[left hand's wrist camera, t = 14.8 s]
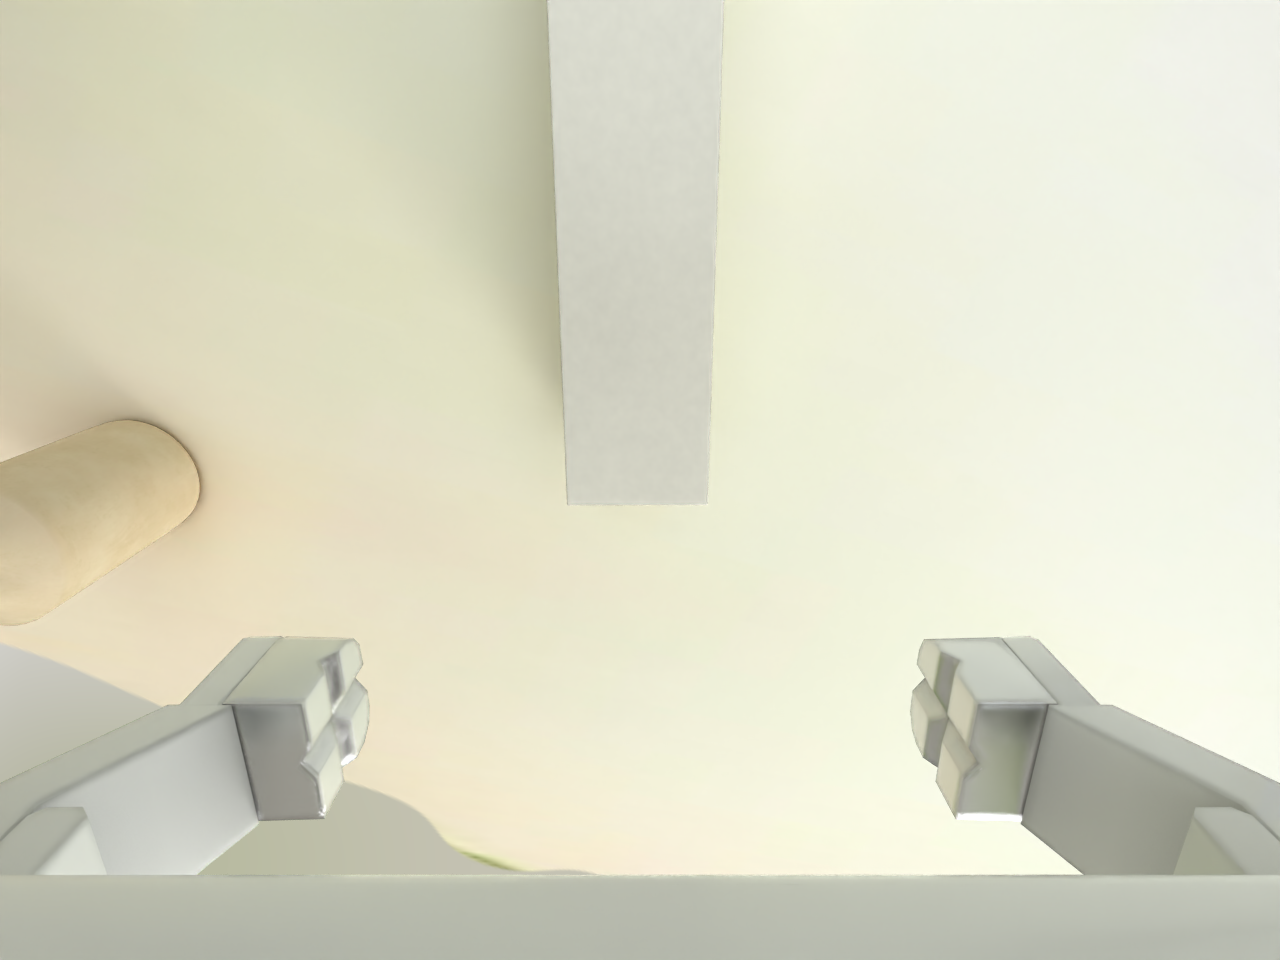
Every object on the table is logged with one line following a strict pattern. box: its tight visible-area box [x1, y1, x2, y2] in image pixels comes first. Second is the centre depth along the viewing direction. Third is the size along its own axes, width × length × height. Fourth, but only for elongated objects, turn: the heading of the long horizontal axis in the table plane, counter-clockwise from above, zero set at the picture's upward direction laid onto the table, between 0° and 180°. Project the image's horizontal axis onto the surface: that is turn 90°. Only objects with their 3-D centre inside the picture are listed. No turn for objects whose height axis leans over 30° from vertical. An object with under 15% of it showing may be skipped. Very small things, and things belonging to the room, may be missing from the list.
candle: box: [0, 420, 200, 626], centre depth 28 cm, size 6×6×10 cm
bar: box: [547, 0, 724, 505], centre depth 24 cm, size 26×5×8 cm, turn 0°
